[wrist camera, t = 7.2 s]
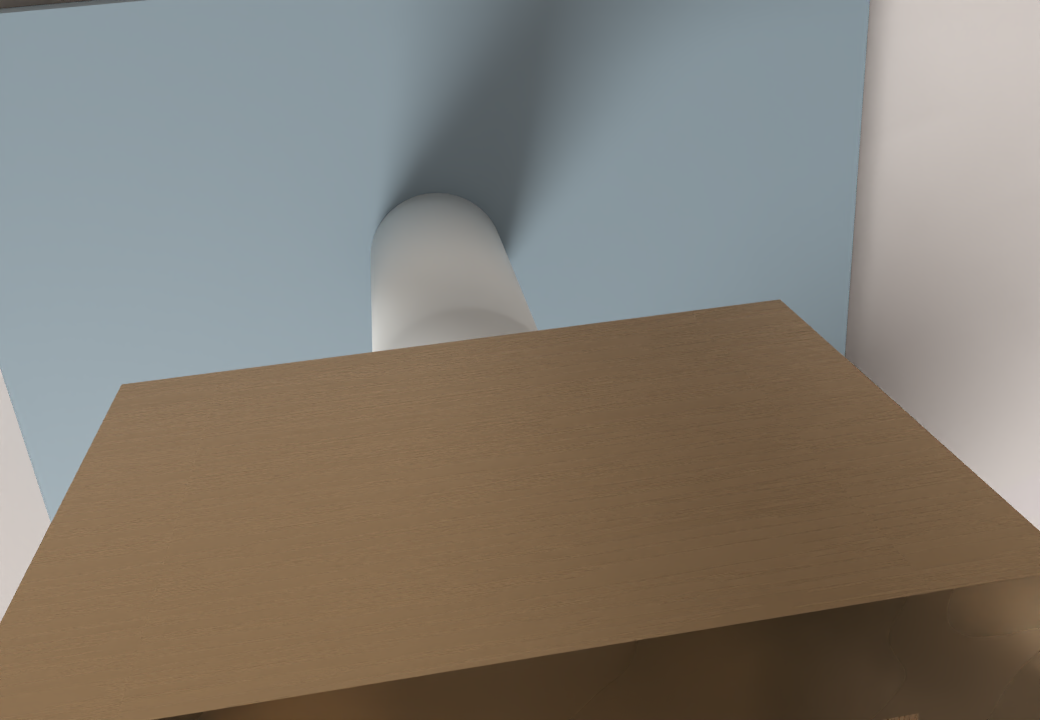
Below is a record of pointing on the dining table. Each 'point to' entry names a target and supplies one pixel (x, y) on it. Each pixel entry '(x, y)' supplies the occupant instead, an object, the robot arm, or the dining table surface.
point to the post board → (402, 180)
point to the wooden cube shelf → (530, 542)
